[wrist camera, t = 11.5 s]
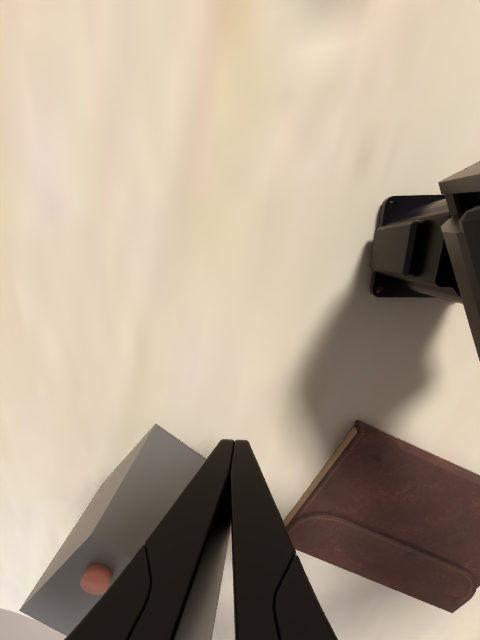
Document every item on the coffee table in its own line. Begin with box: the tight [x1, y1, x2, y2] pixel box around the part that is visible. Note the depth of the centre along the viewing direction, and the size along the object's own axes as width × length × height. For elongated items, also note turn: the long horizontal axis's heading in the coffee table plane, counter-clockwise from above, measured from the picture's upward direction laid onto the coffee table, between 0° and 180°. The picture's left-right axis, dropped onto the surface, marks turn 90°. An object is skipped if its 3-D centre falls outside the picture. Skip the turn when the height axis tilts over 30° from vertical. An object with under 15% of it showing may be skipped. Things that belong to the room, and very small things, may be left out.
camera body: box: [19, 424, 206, 636], centre depth 19 cm, size 11×7×10 cm, turn 140°
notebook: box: [283, 420, 480, 613], centre depth 23 cm, size 15×20×2 cm
